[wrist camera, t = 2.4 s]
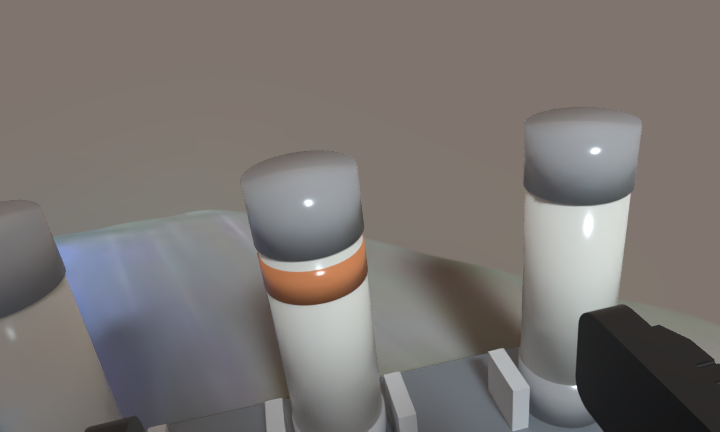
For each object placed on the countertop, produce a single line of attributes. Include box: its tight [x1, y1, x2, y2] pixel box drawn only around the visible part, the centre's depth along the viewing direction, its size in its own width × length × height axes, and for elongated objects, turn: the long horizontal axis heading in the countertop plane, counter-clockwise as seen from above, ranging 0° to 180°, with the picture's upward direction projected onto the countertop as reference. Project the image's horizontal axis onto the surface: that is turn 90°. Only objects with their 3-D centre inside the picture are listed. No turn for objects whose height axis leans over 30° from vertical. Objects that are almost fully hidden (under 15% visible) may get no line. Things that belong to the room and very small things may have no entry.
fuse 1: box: [0, 200, 123, 432], centre depth 22 cm, size 4×4×14 cm
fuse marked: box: [240, 151, 388, 432], centre depth 23 cm, size 4×4×14 cm
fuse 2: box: [518, 107, 642, 428], centre depth 24 cm, size 4×4×14 cm
